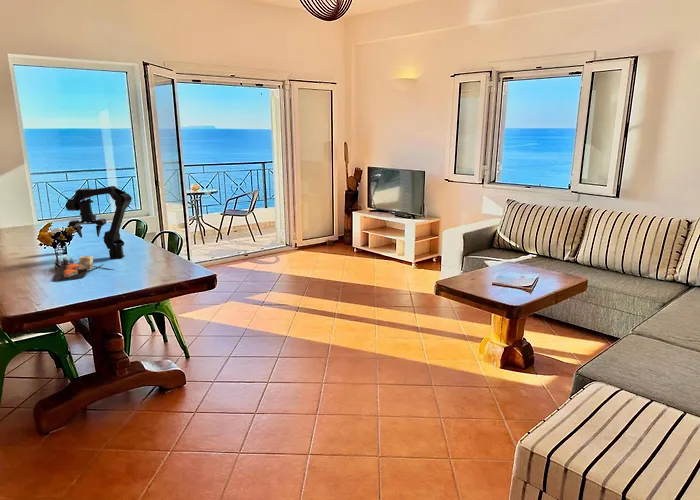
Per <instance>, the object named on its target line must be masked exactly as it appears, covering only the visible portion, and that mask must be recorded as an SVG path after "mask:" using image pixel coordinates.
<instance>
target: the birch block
mask: <svg viewBox="0 0 700 500" xmlns="http://www.w3.org/2000/svg"><path fill="white" fill-rule="evenodd" d="M78 262H79V263H78V264H80V269H88V270H92V269H94V267H93V266H94V256H93V255H91V256H90V255H82V256H79V261H78Z"/></svg>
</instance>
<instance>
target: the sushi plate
mask: <svg viewBox="0 0 700 500" xmlns="http://www.w3.org/2000/svg"><path fill="white" fill-rule="evenodd" d="M104 265H105V264H100V265H98V266H97V265H96V266H94V265H93V268H91V269H80V264H79V263H70V264H64V265H60V266H59V267H58V268H57V271H56V272H55V274H54V276H53V277H52V280H53V281H67V280H75V279H80V278H84V277H86V275H87V273H90V272H91V271H94V270H95V269H103V270H110V271H114V269H112V268H108V267H107V268H106V267H102V266H104ZM88 270H89V271H88Z"/></svg>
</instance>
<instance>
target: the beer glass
mask: <svg viewBox="0 0 700 500" xmlns="http://www.w3.org/2000/svg"><path fill="white" fill-rule="evenodd" d="M62 230H64V231H65V228H63V227H60V228H59V227H58V228H52V229H51V234H52V233H56V232H58V231H62Z"/></svg>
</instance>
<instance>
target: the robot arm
mask: <svg viewBox="0 0 700 500" xmlns="http://www.w3.org/2000/svg"><path fill="white" fill-rule="evenodd" d="M100 195H109V196H110V197H111V199H112V200H114V205H115V211H114V214H113V217H112V221H111V225H110V228H109V230H107V231H105V232H104V235H103V237H102V239H103V242H104V245H105V246H106V248H107V249H108V252H109V254H108V255H109V260H117V259H123V258H124V257H125V256H126V255H125V254H124V246H125V241H123V240H122V239H121V234H120V230H121V226H122V224H123V223H122V222H123V219H124V216H125V213H126V209H128V207H129V206H130V205H131V202H132V199H133V198H132V196H131V195H130V194H129V193H127V192H125V190H122V189H120V188H118V187H117V186H114V185H109V186H107V187H101V188H100V187H99V188H87V187H85V188H79V189H76V190H75V194H74V196H73V198H67V199H66V200H67V201H66V203H65V209H66V210H67V211H69V212H74V211H75V212H78V211H79V216H80V219H81V220H79V219H73V220H70V221H68V227H70V228H71V229H74V230H75V232H76V233H77V234H78V236H79V238H81V239H83V234H82V228H81V225H96V226H95V231H96V236H97V238H98V237H100V234H101V230H102V228H103V226H105V225H107V220H106V219H105V218H98V219H97V215H95V213H93V211H92V207H91V206H92V205H91V204H92V203H94V201H93V200H92V199H91V198H92V197H96V196H100Z"/></svg>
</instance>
